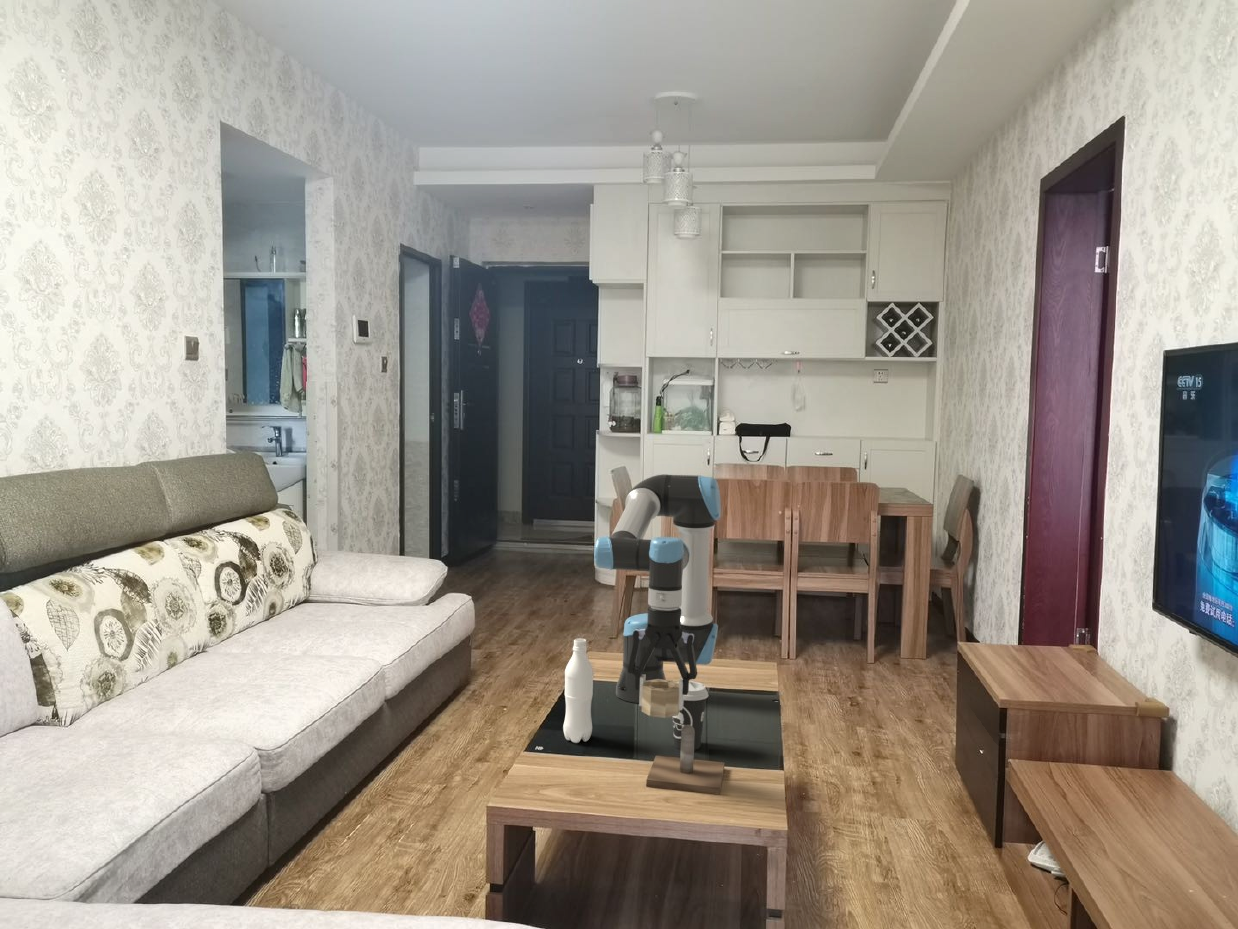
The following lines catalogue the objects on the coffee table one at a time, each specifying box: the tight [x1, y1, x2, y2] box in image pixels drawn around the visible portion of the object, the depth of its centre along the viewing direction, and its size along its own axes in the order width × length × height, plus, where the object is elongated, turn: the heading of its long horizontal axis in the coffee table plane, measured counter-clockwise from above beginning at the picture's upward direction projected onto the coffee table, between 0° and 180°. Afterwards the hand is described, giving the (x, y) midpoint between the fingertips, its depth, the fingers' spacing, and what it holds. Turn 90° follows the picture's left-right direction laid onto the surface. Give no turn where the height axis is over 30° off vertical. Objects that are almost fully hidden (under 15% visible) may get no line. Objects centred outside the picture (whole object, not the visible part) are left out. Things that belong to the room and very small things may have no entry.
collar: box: [641, 679, 680, 719], centre depth 202 cm, size 8×8×6 cm
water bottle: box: [562, 638, 595, 744], centre depth 222 cm, size 7×7×25 cm
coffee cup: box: [672, 680, 709, 751], centre depth 220 cm, size 10×10×15 cm
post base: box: [645, 725, 725, 795], centre depth 201 cm, size 14×16×12 cm
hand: (661, 706), depth 202 cm, fingers closed on collar, 8 cm apart
